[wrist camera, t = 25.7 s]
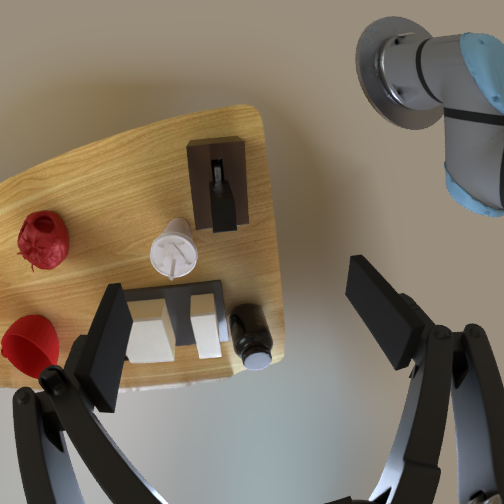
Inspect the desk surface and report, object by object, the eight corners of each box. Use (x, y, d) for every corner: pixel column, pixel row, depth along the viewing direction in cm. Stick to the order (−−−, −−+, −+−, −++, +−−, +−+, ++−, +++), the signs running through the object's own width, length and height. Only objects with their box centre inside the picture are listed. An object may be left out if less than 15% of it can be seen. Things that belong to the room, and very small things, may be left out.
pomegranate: (81, 254, 45) (62, 283, 37) (38, 259, 44) (16, 286, 36) (67, 200, 41) (42, 221, 33) (24, 209, 40) (-4, 230, 31)
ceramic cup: (0, 309, 47) (-19, 337, 38) (49, 298, 48) (29, 330, 39) (28, 350, 53) (14, 380, 44) (77, 345, 54) (65, 379, 45)
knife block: (237, 135, 41) (244, 140, 34) (241, 205, 46) (249, 224, 39) (189, 140, 40) (186, 146, 33) (197, 210, 45) (196, 230, 38)
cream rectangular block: (213, 293, 52) (215, 314, 46) (219, 334, 56) (221, 356, 51) (190, 295, 51) (190, 317, 46) (199, 336, 56) (199, 358, 50)
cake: (164, 298, 51) (161, 319, 45) (175, 338, 55) (174, 361, 50) (120, 302, 50) (113, 323, 44) (134, 341, 54) (130, 363, 49)
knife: (222, 154, 41) (233, 183, 25) (225, 193, 44) (238, 245, 28) (207, 155, 41) (208, 185, 25) (210, 195, 44) (215, 248, 28)
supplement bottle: (244, 334, 58) (253, 379, 48) (221, 316, 55) (226, 362, 45) (271, 315, 57) (285, 360, 47) (249, 295, 54) (261, 340, 44)
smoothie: (162, 248, 47) (150, 298, 35) (156, 211, 44) (138, 252, 32) (200, 244, 48) (200, 293, 36) (196, 207, 45) (193, 246, 33)
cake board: (220, 279, 52) (221, 282, 51) (228, 337, 58) (228, 340, 57) (113, 290, 49) (112, 293, 49) (133, 345, 56) (133, 348, 55)
